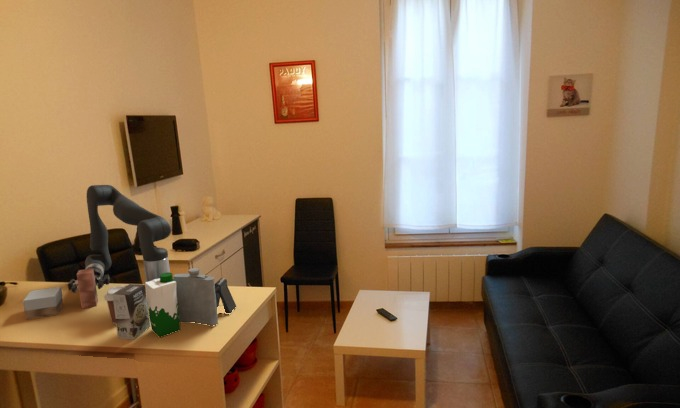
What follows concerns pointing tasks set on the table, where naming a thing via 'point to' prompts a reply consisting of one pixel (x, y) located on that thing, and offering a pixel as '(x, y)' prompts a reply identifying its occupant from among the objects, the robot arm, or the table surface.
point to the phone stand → (224, 295)
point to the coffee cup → (109, 299)
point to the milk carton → (163, 304)
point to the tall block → (87, 288)
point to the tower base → (44, 311)
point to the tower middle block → (42, 298)
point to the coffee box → (131, 311)
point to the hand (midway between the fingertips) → (86, 288)
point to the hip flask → (196, 298)
